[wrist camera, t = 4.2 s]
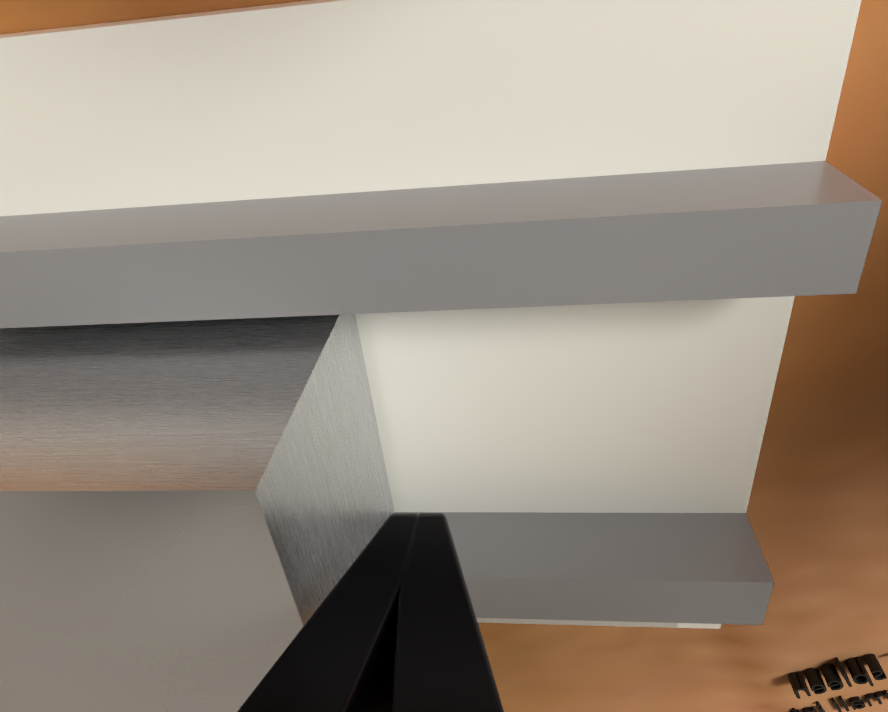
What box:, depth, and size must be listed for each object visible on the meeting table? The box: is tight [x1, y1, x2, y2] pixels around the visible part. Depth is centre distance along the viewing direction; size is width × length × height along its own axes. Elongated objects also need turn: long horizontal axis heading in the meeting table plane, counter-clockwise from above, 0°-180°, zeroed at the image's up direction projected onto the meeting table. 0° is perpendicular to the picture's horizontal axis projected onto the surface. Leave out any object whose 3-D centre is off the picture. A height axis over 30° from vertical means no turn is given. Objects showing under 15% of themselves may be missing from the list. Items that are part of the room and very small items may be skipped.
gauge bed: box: [0, 0, 882, 629], centre depth 11 cm, size 26×13×6 cm, turn 96°
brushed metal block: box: [0, 314, 395, 712], centre depth 11 cm, size 6×8×4 cm
